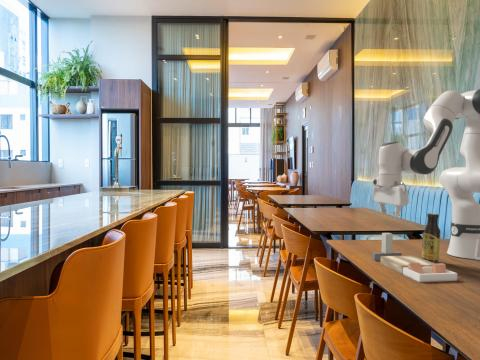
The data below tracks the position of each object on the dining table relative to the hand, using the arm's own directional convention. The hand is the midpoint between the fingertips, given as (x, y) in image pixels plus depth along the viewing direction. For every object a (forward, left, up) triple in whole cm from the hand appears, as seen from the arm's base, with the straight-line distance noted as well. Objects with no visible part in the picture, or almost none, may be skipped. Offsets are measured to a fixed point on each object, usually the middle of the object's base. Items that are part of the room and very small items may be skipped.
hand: (389, 214), depth 148 cm
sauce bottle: (-15, +6, -19) cm, 25 cm away
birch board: (0, +13, -19) cm, 23 cm away
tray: (0, +25, -19) cm, 31 cm away
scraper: (+1, 0, -19) cm, 19 cm away
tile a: (-4, +24, -16) cm, 29 cm away
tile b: (+4, +22, -17) cm, 28 cm away
